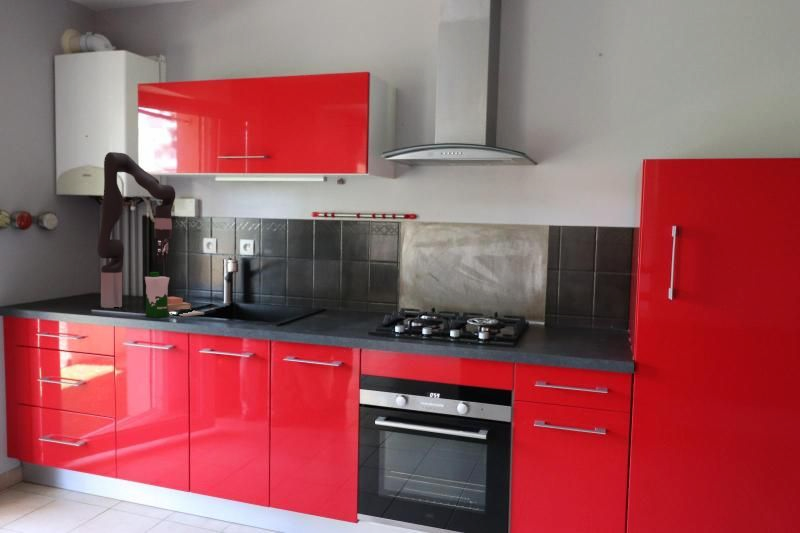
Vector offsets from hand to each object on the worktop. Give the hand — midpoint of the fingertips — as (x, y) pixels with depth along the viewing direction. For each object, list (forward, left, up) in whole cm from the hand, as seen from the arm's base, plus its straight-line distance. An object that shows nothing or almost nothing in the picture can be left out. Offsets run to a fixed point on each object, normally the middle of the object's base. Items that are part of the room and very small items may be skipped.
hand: (162, 262), depth 309 cm
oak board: (-2, +7, -24) cm, 25 cm away
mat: (+9, +7, -24) cm, 27 cm away
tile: (-2, +7, -20) cm, 21 cm away
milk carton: (+7, -7, -24) cm, 26 cm away
